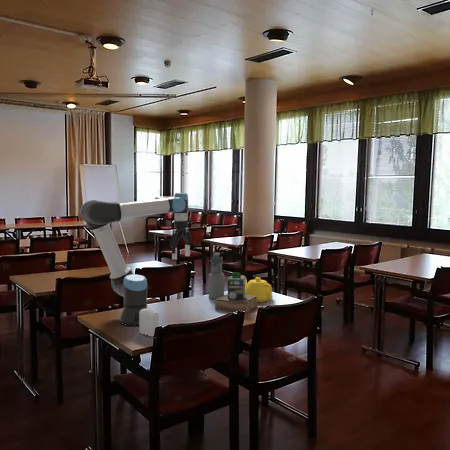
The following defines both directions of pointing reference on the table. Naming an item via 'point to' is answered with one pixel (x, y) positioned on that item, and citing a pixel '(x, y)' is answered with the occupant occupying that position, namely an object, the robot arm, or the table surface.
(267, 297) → the teapot
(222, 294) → the water bottle
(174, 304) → the table surface
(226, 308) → the walnut stand
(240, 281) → the chalk box
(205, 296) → the table surface
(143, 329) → the photo printer
